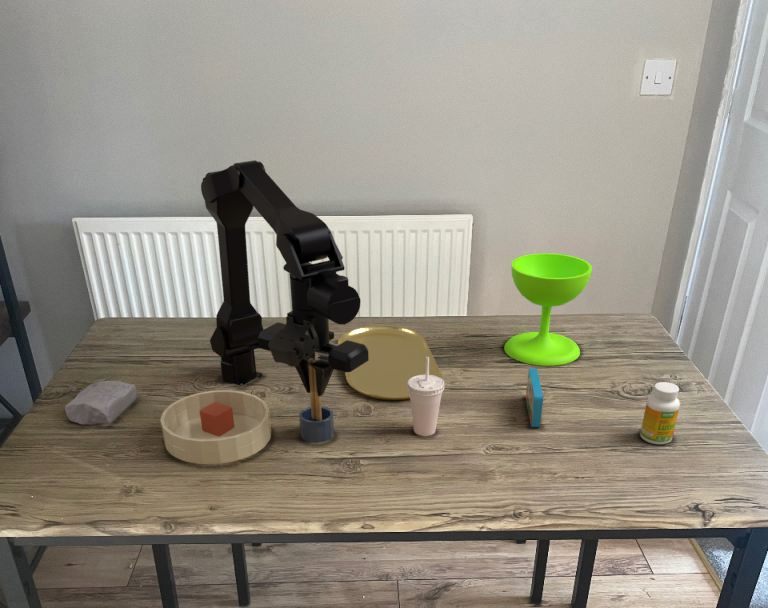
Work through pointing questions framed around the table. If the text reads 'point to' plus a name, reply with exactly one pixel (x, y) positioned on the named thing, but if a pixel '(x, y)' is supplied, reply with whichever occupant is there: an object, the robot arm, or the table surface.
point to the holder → (316, 426)
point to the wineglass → (547, 305)
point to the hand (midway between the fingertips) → (315, 393)
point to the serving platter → (389, 361)
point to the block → (217, 419)
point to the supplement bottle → (661, 414)
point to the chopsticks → (314, 393)
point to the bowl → (207, 448)
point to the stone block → (101, 402)
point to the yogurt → (534, 397)
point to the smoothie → (425, 401)
